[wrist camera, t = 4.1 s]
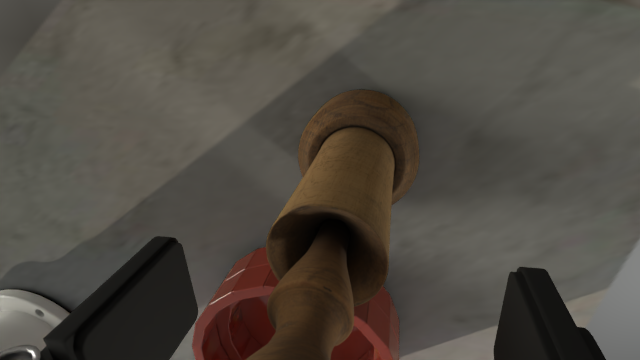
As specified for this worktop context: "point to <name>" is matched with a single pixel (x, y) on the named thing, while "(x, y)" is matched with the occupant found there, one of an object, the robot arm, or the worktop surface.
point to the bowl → (256, 329)
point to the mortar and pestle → (337, 222)
